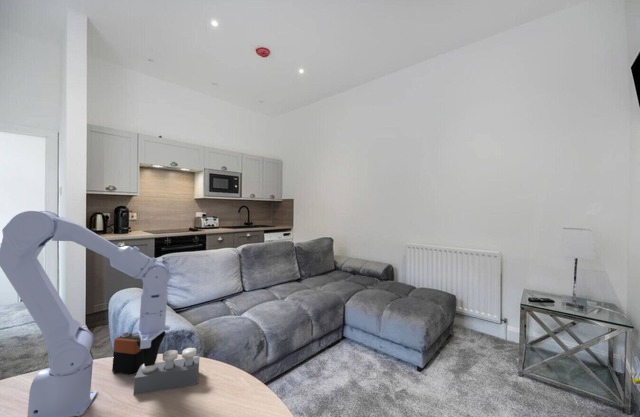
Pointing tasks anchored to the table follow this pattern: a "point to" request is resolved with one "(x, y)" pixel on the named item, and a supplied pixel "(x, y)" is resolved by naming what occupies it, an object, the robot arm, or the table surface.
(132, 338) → the battery
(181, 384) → the mount
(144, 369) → the knob near
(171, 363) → the knob middle
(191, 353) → the knob far
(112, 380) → the table surface
